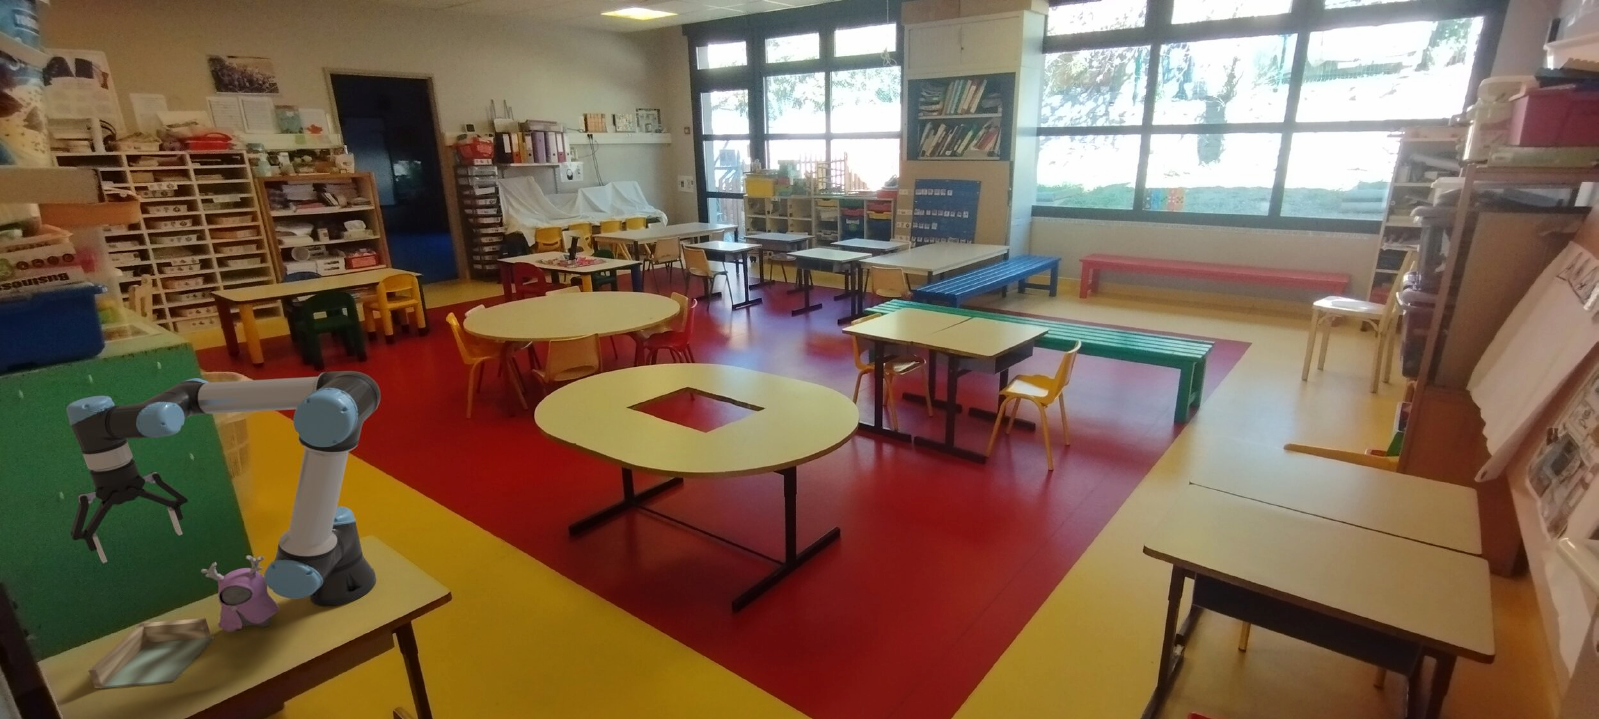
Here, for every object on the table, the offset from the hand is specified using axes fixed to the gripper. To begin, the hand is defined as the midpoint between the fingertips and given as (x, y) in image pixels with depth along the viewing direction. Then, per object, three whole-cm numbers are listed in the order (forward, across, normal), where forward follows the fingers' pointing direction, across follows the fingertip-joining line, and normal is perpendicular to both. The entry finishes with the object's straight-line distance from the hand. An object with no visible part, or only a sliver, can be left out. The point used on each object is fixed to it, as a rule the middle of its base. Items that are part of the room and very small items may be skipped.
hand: (142, 546), depth 168 cm
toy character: (+25, -12, +13) cm, 31 cm away
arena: (+25, +5, +8) cm, 27 cm away
